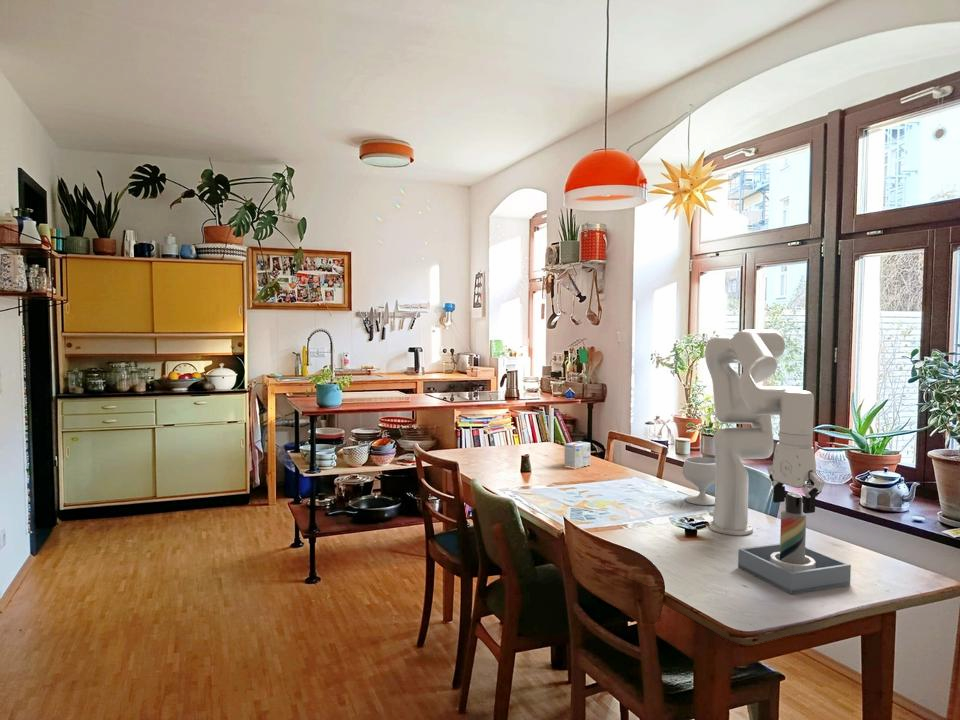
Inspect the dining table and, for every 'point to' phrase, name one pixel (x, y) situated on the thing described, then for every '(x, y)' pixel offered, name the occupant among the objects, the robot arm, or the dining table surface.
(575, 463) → the light bulb box
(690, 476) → the chalice
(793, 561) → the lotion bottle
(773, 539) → the dining table surface
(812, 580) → the socket box
